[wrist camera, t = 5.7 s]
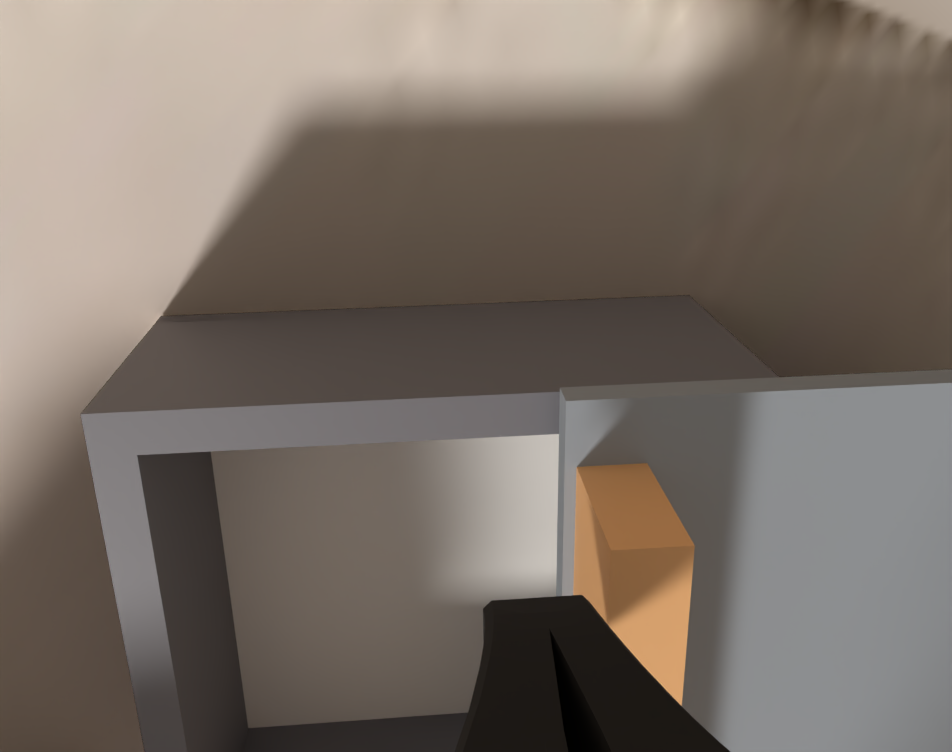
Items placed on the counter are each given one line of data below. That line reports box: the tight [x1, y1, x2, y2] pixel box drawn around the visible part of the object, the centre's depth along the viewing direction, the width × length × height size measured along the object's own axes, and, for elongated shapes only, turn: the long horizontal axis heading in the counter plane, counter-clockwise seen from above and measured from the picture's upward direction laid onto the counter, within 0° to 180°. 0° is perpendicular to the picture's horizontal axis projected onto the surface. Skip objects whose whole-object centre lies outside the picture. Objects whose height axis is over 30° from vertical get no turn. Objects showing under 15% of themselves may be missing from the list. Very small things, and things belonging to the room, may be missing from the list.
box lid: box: [556, 369, 952, 752], centre depth 16 cm, size 12×12×3 cm
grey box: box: [81, 295, 778, 752], centre depth 20 cm, size 12×12×6 cm
